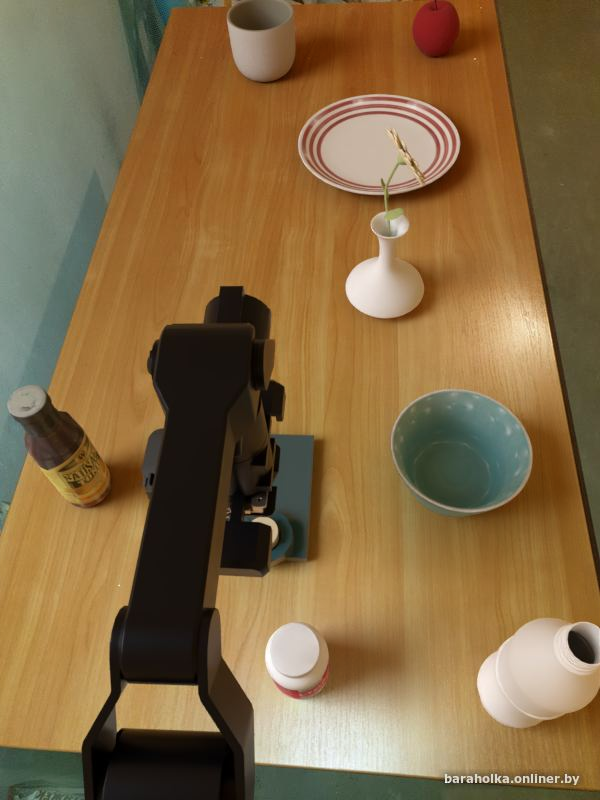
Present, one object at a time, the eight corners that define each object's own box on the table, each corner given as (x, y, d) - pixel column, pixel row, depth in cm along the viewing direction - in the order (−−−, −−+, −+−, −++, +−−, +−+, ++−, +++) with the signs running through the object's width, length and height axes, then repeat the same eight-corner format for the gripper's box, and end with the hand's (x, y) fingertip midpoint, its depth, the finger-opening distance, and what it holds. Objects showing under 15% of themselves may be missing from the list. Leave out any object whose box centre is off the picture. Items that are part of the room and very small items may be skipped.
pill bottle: (304, 713, 65) (298, 701, 56) (260, 672, 68) (247, 653, 58) (341, 664, 68) (341, 644, 58) (297, 626, 70) (291, 600, 61)
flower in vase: (424, 326, 91) (449, 183, 69) (344, 324, 92) (345, 183, 70) (421, 258, 98) (443, 110, 76) (346, 258, 98) (348, 111, 77)
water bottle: (471, 723, 64) (535, 689, 43) (473, 649, 68) (534, 584, 47) (544, 737, 63) (647, 709, 42) (543, 661, 67) (637, 600, 46)
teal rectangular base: (306, 573, 73) (305, 565, 71) (220, 568, 74) (216, 560, 71) (314, 440, 82) (313, 429, 79) (237, 437, 83) (234, 426, 80)
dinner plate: (306, 106, 119) (305, 89, 116) (454, 107, 117) (457, 90, 114) (291, 207, 105) (290, 191, 102) (460, 211, 102) (463, 195, 100)
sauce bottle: (95, 517, 78) (27, 442, 61) (55, 498, 80) (-22, 419, 63) (125, 473, 81) (68, 389, 64) (85, 455, 83) (20, 369, 66)
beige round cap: (278, 552, 72) (276, 547, 71) (246, 550, 72) (244, 546, 71) (280, 521, 74) (279, 517, 72) (249, 520, 74) (248, 515, 73)
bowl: (392, 414, 83) (397, 380, 76) (515, 429, 81) (532, 395, 74) (379, 527, 75) (383, 500, 68) (516, 547, 73) (534, 521, 66)
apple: (459, 62, 124) (468, 8, 115) (412, 64, 124) (418, 11, 116) (452, 36, 129) (460, -18, 120) (408, 38, 129) (412, -15, 121)
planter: (236, 54, 130) (228, -3, 120) (297, 51, 129) (294, -7, 120) (233, 90, 123) (224, 33, 114) (297, 87, 122) (293, 29, 113)
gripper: (156, 339, 57) (191, 424, 71) (111, 538, 48) (161, 594, 61) (279, 341, 56) (291, 427, 70) (258, 545, 47) (276, 600, 60)
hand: (254, 506), depth 65 cm, fingers closed
